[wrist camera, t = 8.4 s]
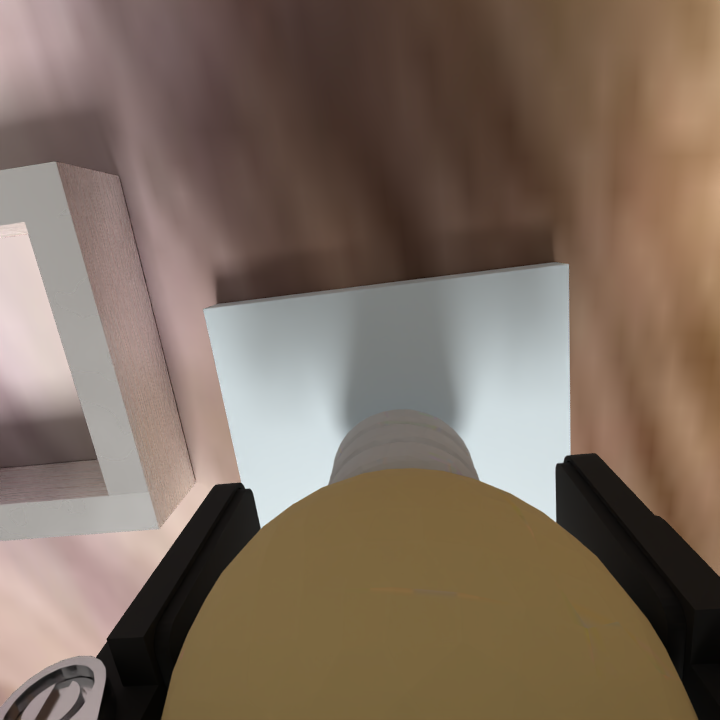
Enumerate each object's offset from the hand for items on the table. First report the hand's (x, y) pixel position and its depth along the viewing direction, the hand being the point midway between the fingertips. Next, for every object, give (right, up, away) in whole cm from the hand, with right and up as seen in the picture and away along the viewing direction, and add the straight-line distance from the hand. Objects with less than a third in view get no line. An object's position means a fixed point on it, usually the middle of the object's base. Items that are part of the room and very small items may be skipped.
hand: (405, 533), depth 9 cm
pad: (0, +1, +5) cm, 5 cm away
